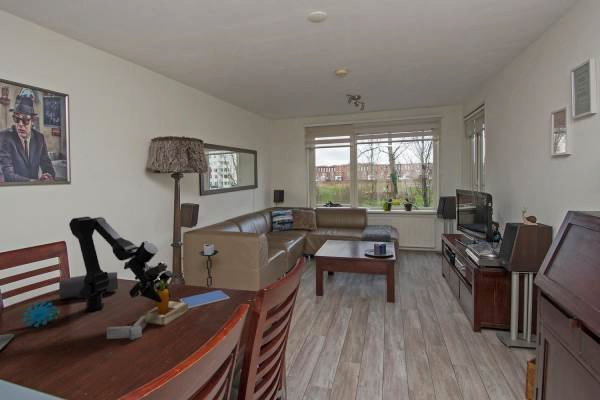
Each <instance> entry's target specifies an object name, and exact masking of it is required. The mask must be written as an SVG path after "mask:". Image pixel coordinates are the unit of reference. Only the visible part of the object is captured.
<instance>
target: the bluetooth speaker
mask: <svg viewBox="0 0 600 400" xmlns="http://www.w3.org/2000/svg"><path fill="white" fill-rule="evenodd" d="M107 273H108V278H109V285H108V287H107V291H106V292H103V293H102V295H103V294H104V293H107V292H112V291H116V290H118V289H119V284H118V283H119V282H118V271H117V272H116V271H115V272H114V271H113V272H107ZM85 276H86V274H85V275H78V276H70V277H65V278H61V279H59V281H58V284H59V285H58V287H59V288H58V295H59V298H60V299H65V298H67V299H69V298H76V299H82V298H83V299H84V297H80V294H79V292H80V291H81V290H82V288H83V287H84V286H85V285H84V279H85Z"/></svg>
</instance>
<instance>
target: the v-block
mask: <svg viewBox="0 0 600 400" xmlns="http://www.w3.org/2000/svg"><path fill="white" fill-rule="evenodd" d="M146 326H147V322H146V316H143V315H142V316H140V317H139V319H138V320H136V322H135V323H134V324H133V325H129V326H128V325H125V326H108V327H107V328H106V339H107V340H109V339H110V340H111V339H114V340H115V339H130V340H131V341H133V340H136V339H139V338H141V337H143V333H142V331H143V330H144V329H145V327H146Z"/></svg>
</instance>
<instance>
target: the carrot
mask: <svg viewBox="0 0 600 400" xmlns="http://www.w3.org/2000/svg"><path fill="white" fill-rule="evenodd" d="M163 284H164V282H162V281H160V283H159V287H160V290H155V291H156V293H157V294H158V295H159V297H160V298H161V300H162V302H161V303H159V302H157V301H155V302H156V307H157V308H158V312H159V314H160V315H166V313H167V310H168V304H169V301H170V298H169V293H170V291H169V292H168V290H169V289H168V290H167V289H164V288H165V286H166V284H167V285H168V284H169V282H168V281H167V282H166V283H165V284H164V285H163Z"/></svg>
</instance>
